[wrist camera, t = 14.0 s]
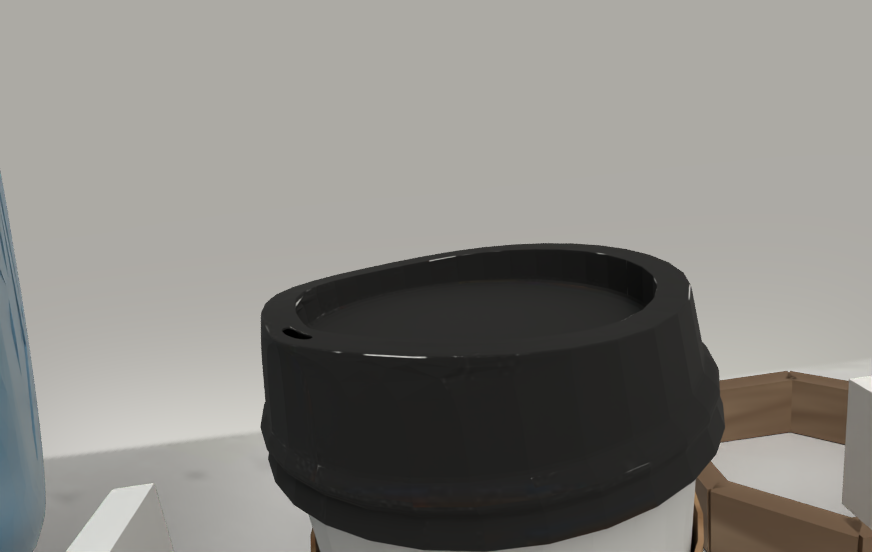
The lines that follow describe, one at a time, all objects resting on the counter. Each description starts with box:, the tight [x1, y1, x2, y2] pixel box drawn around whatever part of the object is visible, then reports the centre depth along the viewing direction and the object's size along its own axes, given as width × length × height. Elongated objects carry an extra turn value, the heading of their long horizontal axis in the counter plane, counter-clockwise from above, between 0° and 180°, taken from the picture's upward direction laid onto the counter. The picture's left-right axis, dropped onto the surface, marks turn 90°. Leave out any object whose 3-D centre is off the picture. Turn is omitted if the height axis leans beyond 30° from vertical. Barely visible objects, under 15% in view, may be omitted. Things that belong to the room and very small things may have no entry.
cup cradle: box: [695, 371, 872, 552], centre depth 27 cm, size 12×12×3 cm
